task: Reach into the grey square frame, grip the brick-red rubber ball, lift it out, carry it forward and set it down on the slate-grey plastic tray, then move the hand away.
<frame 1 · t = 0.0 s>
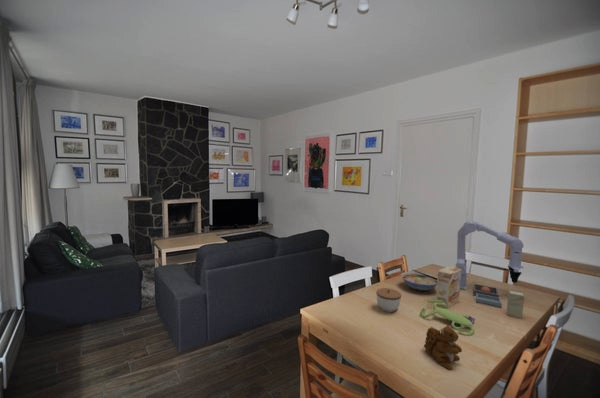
hand: (513, 280, 172), 10 cm above the table, tool pointing down, fingers open, 7 cm apart
skincare box: (514, 315, 149), on the table
ramen bowl: (419, 288, 182), on the table
coffeecake box: (447, 303, 162), on the table
tray: (488, 302, 164), on the table
stuffed squirrel: (440, 357, 113), on the table
ball: (485, 290, 175), point 2 cm above the table
figurine: (446, 320, 143), on the table
grey square frame: (485, 294, 175), on the table
lidded bowl: (387, 309, 153), on the table
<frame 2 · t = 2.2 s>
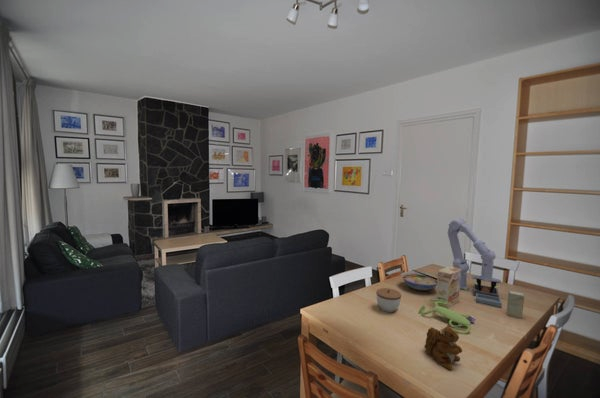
hand: (485, 292, 175), 1 cm above the table, tool pointing down, fingers closed on ball, 5 cm apart
ball: (485, 290, 175), point 2 cm above the table, touching gripper
figurine: (446, 319, 145), on the table
everything else where it was.
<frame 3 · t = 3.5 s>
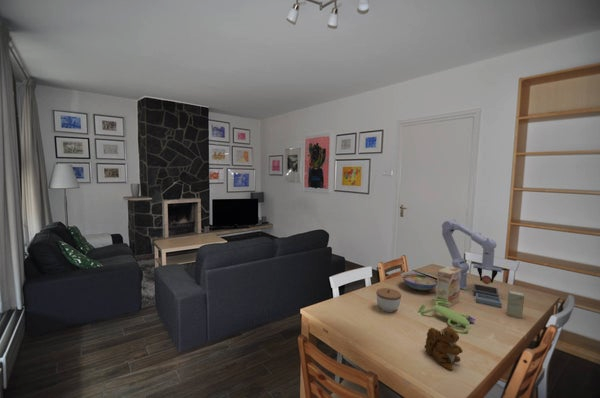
hand: (486, 281, 174), 8 cm above the table, tool pointing down, fingers closed on ball, 5 cm apart
ball: (486, 279, 174), point 9 cm above the table, touching gripper
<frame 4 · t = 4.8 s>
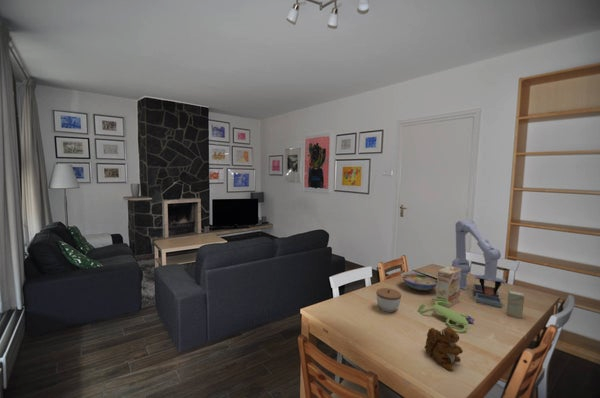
hand: (488, 293, 164), 5 cm above the table, tool pointing down, fingers closed on ball, 5 cm apart
ball: (489, 291, 163), point 7 cm above the table, touching gripper
when the fingers open (4 cm above the table, at t = 5.6 s): ball drops 1 cm, resting on tray.
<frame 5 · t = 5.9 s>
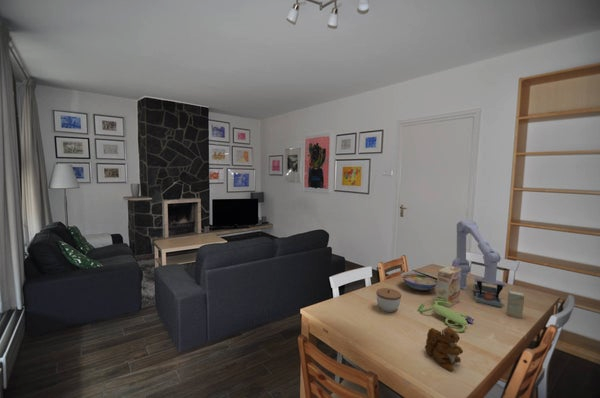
hand: (488, 296, 164), 4 cm above the table, tool pointing down, fingers open, 7 cm apart
ball: (488, 296, 164), point 3 cm above the table, touching tray
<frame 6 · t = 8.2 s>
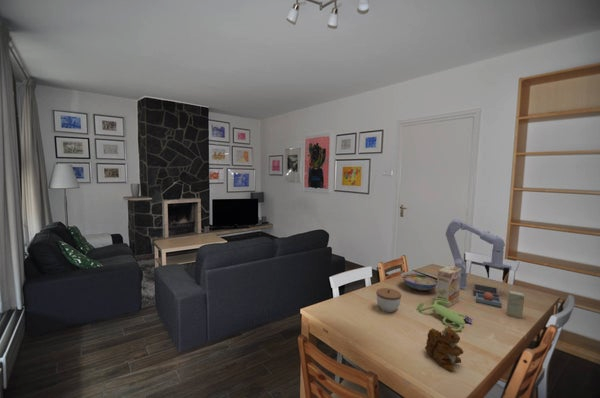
hand: (495, 278, 176), 9 cm above the table, tool pointing down, fingers open, 7 cm apart
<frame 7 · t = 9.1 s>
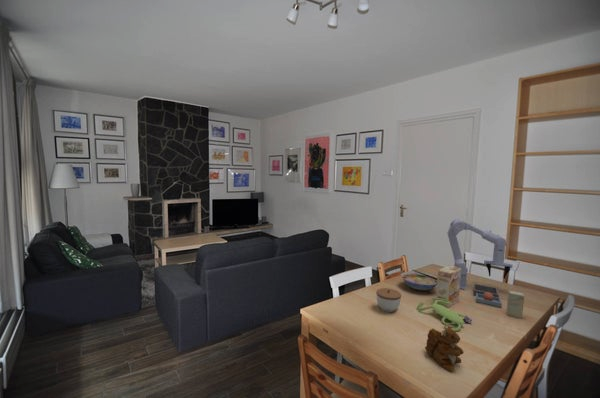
hand: (496, 276, 179), 9 cm above the table, tool pointing down, fingers open, 7 cm apart
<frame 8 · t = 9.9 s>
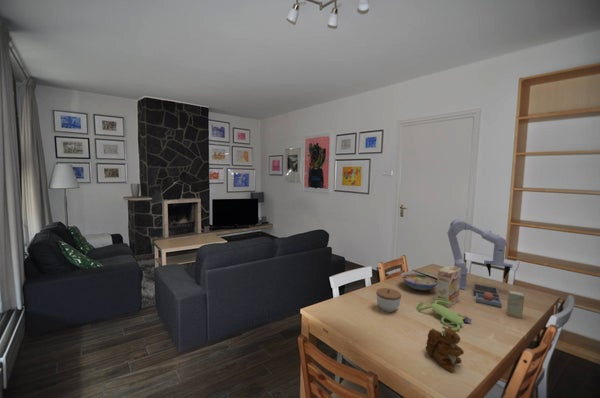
hand: (496, 276, 179), 9 cm above the table, tool pointing down, fingers open, 7 cm apart
at the end: ball inside the target area on the tray (0.1 cm from its centre), point 3.3 cm above the tray's base; the gripper is holding nothing; ball moved 12.1 cm from its start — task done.
